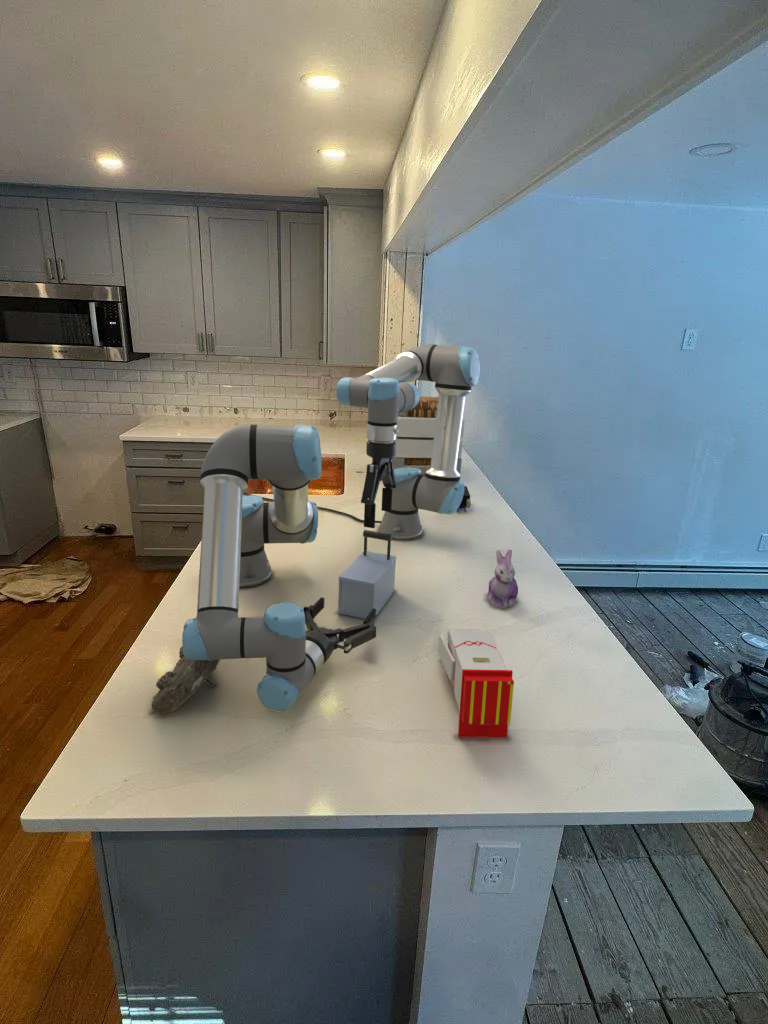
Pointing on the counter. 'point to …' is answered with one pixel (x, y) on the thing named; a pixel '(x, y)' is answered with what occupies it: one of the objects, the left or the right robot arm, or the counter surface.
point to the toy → (478, 682)
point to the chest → (365, 595)
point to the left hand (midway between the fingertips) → (348, 607)
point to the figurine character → (465, 500)
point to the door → (369, 562)
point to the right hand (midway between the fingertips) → (378, 518)
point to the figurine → (503, 582)
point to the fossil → (181, 682)
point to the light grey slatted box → (419, 435)
